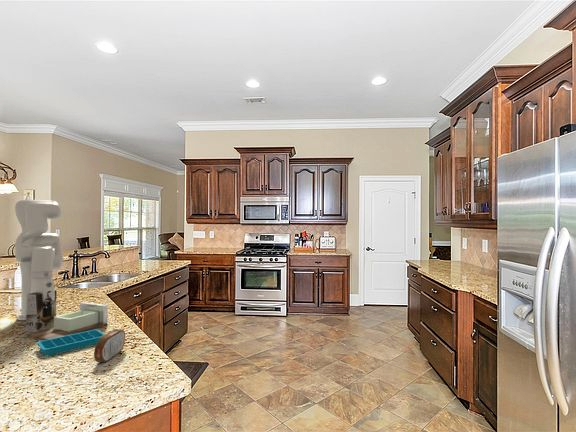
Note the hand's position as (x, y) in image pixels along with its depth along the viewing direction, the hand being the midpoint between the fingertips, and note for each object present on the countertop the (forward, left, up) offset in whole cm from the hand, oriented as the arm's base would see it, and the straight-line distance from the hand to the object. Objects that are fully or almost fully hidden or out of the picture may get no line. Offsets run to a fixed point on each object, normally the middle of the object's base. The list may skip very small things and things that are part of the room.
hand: (41, 315), depth 145 cm
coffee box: (0, 0, -6) cm, 6 cm away
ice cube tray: (+33, -8, -6) cm, 35 cm away
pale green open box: (+14, +6, -5) cm, 16 cm away
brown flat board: (+14, +3, -6) cm, 16 cm away
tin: (+56, -10, -6) cm, 57 cm away
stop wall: (+14, +14, -5) cm, 20 cm away
